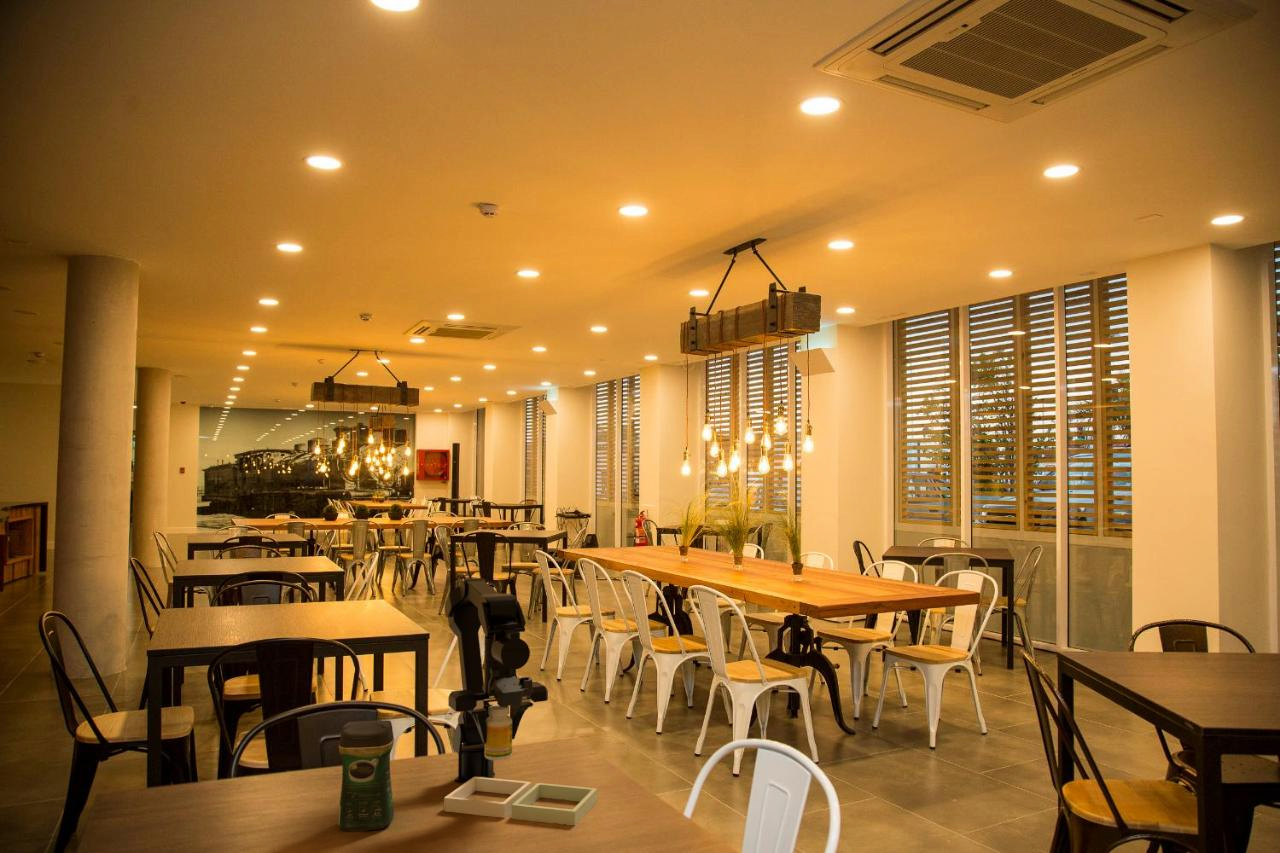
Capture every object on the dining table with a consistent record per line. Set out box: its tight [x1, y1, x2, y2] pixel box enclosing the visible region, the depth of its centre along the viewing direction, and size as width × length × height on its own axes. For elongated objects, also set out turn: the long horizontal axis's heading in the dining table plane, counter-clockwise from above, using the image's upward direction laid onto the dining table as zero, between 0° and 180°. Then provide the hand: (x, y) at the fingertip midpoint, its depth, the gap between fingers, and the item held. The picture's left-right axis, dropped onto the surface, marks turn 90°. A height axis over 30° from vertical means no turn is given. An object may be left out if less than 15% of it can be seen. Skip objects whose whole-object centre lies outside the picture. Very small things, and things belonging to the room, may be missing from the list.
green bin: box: [511, 782, 598, 826], centre depth 171 cm, size 13×13×2 cm
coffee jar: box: [337, 720, 395, 832], centre depth 164 cm, size 10×8×19 cm
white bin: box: [443, 777, 532, 819], centre depth 175 cm, size 13×13×2 cm
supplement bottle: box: [484, 704, 513, 761], centre depth 175 cm, size 5×5×10 cm
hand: (498, 740), depth 175 cm, fingers closed on supplement bottle, 5 cm apart
